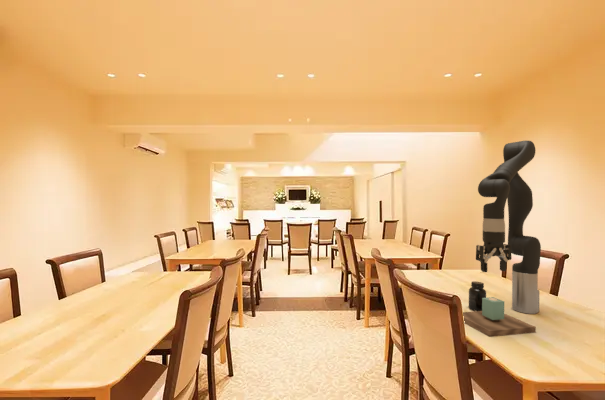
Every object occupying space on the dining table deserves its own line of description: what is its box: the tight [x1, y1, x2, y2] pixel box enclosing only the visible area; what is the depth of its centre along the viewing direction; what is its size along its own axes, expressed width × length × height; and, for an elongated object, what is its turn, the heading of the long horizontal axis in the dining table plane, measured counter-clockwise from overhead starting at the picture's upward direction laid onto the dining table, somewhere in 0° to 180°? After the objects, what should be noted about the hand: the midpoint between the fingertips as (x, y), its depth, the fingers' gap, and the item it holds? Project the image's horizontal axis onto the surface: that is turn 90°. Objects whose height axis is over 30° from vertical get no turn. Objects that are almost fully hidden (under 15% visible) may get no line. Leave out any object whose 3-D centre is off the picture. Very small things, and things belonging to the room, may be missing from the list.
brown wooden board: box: [463, 310, 537, 337], centre depth 120 cm, size 20×18×9 cm
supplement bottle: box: [468, 280, 487, 312], centre depth 137 cm, size 7×7×12 cm
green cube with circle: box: [482, 296, 505, 320], centre depth 120 cm, size 5×5×7 cm
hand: (493, 271), depth 120 cm, fingers open, 8 cm apart
